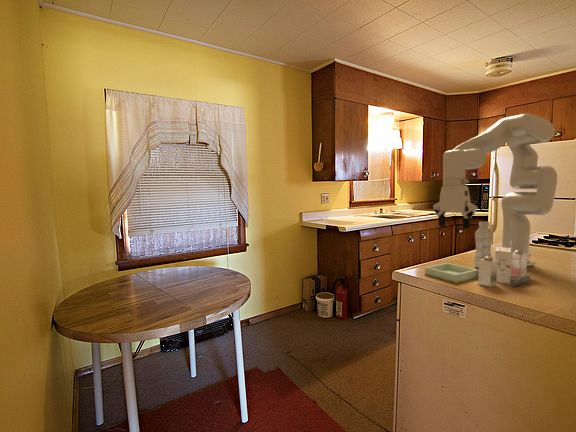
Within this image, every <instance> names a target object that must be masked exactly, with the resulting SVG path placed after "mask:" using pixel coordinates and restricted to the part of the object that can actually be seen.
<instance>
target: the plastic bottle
mask: <svg viewBox="0 0 576 432" xmlns="http://www.w3.org/2000/svg"><path fill="white" fill-rule="evenodd" d="M493 236H494V234H493V232H492V230H491V229H490V221H483V220H482V221H479V223H478V228H477V230H475V232H474V238H475V253H474V258H473V264H474V267H475V268H477V269H479V259H483V258H484V256H490V257H492V256H491V255H492V254H491V253H492V252H491V251H492V250H491V247H492V241H493Z"/></svg>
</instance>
